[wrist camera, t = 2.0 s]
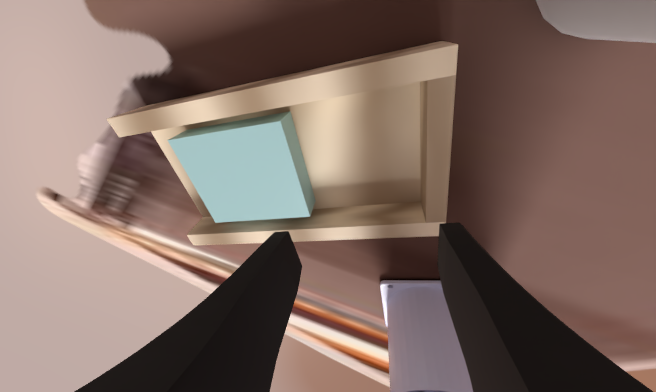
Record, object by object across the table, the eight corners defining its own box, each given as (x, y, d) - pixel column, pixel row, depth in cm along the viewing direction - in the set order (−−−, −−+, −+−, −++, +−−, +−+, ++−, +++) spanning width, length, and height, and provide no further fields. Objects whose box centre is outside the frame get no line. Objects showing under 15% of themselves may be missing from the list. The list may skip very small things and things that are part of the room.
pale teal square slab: (290, 111, 16) (280, 121, 14) (315, 200, 19) (310, 216, 18) (186, 129, 18) (167, 140, 16) (227, 207, 21) (215, 222, 20)
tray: (441, 40, 13) (458, 44, 10) (435, 206, 19) (445, 235, 16) (145, 105, 18) (106, 119, 15) (213, 221, 24) (193, 245, 21)
